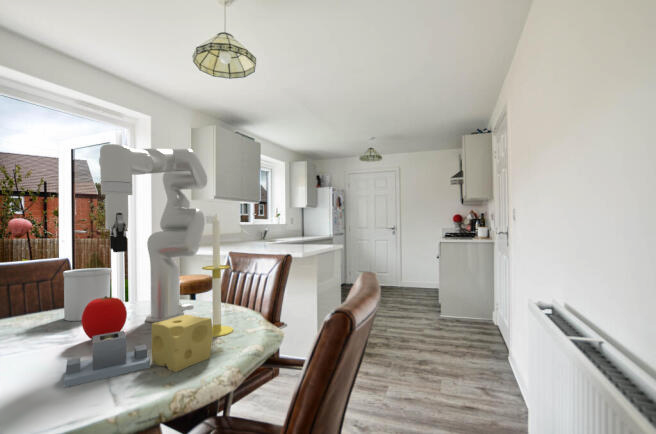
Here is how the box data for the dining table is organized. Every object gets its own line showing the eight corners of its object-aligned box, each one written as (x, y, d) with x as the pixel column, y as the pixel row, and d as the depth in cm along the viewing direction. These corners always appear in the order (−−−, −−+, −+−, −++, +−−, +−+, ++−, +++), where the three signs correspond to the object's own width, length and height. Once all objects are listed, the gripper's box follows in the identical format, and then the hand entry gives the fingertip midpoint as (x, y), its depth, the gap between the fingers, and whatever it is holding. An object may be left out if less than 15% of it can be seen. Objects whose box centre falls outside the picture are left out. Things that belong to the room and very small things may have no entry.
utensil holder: (87, 310, 135) (87, 267, 136) (120, 311, 133) (120, 267, 134) (52, 321, 121) (52, 272, 121) (89, 322, 118) (89, 272, 119)
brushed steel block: (92, 361, 80) (92, 335, 80) (123, 354, 83) (123, 330, 84) (92, 370, 75) (92, 343, 75) (126, 363, 78) (126, 337, 78)
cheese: (175, 373, 76) (175, 329, 76) (149, 363, 82) (148, 322, 82) (213, 357, 85) (213, 317, 85) (186, 349, 91) (186, 312, 91)
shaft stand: (144, 354, 87) (144, 327, 88) (150, 367, 79) (150, 337, 80) (66, 370, 78) (66, 340, 78) (64, 387, 70) (64, 353, 70)
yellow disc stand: (200, 339, 99) (199, 212, 100) (199, 329, 108) (198, 213, 109) (235, 334, 103) (233, 212, 103) (231, 325, 112) (230, 213, 113)
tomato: (72, 343, 97) (72, 298, 97) (109, 332, 107) (109, 291, 107) (99, 348, 93) (99, 301, 93) (134, 335, 103) (134, 293, 103)
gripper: (99, 191, 99) (100, 249, 99) (102, 187, 85) (104, 254, 85) (128, 191, 103) (130, 247, 104) (136, 187, 89) (137, 251, 90)
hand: (118, 250), depth 94 cm, fingers open, 9 cm apart
